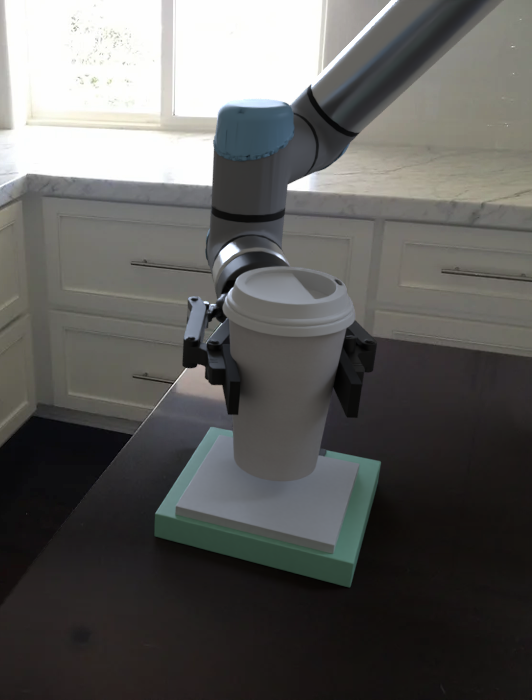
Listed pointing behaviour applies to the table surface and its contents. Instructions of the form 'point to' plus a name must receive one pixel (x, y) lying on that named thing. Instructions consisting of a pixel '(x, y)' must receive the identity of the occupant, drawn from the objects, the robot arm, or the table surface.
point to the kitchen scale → (272, 511)
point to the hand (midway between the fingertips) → (294, 399)
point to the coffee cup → (284, 365)
